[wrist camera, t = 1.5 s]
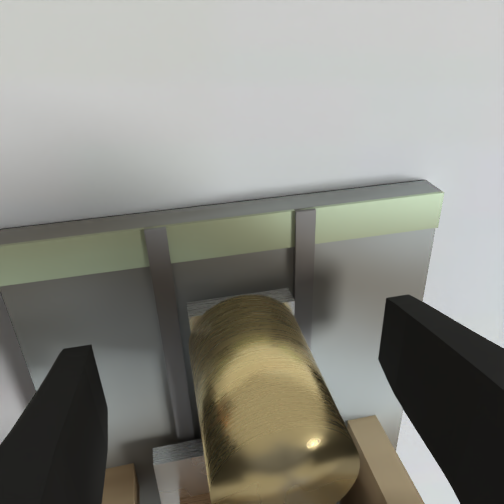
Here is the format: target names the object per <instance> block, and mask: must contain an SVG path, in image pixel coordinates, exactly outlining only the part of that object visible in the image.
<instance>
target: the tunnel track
mask: <svg viewBox="0 0 504 504" xmlns="http://www.w3.org/2000/svg"><path fill="white" fill-rule="evenodd" d="M443 197H444V192H443V191H441V190H440V189H438V188H437V187H435V186H434V185H432V184H431V183H430V182H428V181H427V180H422V181H414V182H405V183H396V184H388V185H379V186H371V187H362V188H353V189H345V190H336V191H328V192H319V193H310V194H302V195H293V196H285V197H276V198H267V199H259V200H250V201H242V202H233V203H224V204H216V205H207V206H199V207H190V208H181V209H173V210H164V211H156V212H147V213H138V214H130V215H121V216H113V217H104V218H95V219H87V220H78V221H70V222H61V223H52V224H44V225H35V226H27V227H18V228H9V229H1V230H0V292H1V294H2V297H3V300H4V303H5V306H6V308H7V311H8V314H9V317H10V320H11V323H12V325H13V328H14V331H15V334H16V337H17V339H18V342H19V345H20V348H21V351H22V353H23V356H24V359H25V362H26V365H27V367H28V370H29V373H30V376H31V379H32V381H33V384H34V387H35V390H36V392H37V390H38V389H39V387H40V385H41V384H42V382H43V380H44V379H45V377H46V376H47V374H48V372H49V370H50V369H51V367H52V365H53V364H54V362H55V360H56V359H57V357H58V355H59V353H60V352H61V351H62V350H63V349H65V348H71V347H78V346H84V345H90V344H91V345H92V349H93V353H94V357H95V361H96V365H97V368H98V372H99V376H100V380H101V384H102V388H103V391H104V395H105V399H106V403H107V407H108V453H107V463H106V471H105V480H104V489H103V497H102V504H161V500H160V495H159V490H158V485H157V481H156V476H155V471H154V466H153V448H156V447H161V446H166V445H171V444H176V443H181V442H187V441H192V440H197V439H202V437H201V430H200V423H199V417H198V410H197V403H196V396H195V389H194V382H193V375H192V368H191V362H190V355H189V338H190V326H189V318H188V310H187V303H188V302H195V301H201V300H208V299H215V298H221V297H228V296H235V295H242V294H248V293H255V292H262V291H269V290H275V289H282V288H288V289H289V291H290V293H291V295H292V297H293V299H294V301H295V310H294V317H295V319H296V321H297V323H298V325H299V327H300V330H301V332H302V334H303V336H304V338H305V340H306V342H307V344H308V347H309V349H310V351H311V353H312V355H313V357H314V359H315V361H316V364H317V366H318V368H319V370H320V372H321V374H322V376H323V378H324V381H325V383H326V385H327V387H328V389H329V391H330V393H331V395H332V398H333V400H334V402H335V404H336V406H337V408H338V410H339V412H340V415H341V417H342V419H343V421H344V423H345V425H346V427H347V429H348V432H349V434H350V436H351V438H352V440H353V442H354V444H355V446H356V449H357V451H358V453H359V457H360V469H359V473H358V476H357V478H356V481H355V482H354V484H353V486H352V487H351V489H350V490H349V491H348V493H347V494H346V495H345V496H344V497H343V498H342V499H341V500H340V501H339V502H337V503H336V504H424V502H423V500H422V498H421V496H420V495H419V493H418V491H417V489H416V487H415V486H414V484H413V482H412V480H411V478H410V477H409V475H408V473H407V471H406V469H405V467H404V466H403V464H402V462H401V460H400V458H399V457H398V455H397V453H396V447H397V441H398V435H399V430H400V424H401V419H402V413H403V408H402V406H401V405H400V403H399V401H398V400H397V398H396V397H395V395H394V393H393V391H392V389H391V387H390V385H389V383H388V380H387V378H386V376H385V374H384V372H383V369H382V367H381V365H380V362H379V360H378V356H379V349H380V341H381V334H382V326H383V318H384V311H385V303H386V298H389V297H395V296H401V295H408V294H409V295H411V296H413V297H415V298H417V299H418V300H420V301H423V295H424V290H425V284H426V279H427V273H428V267H429V262H430V256H431V251H432V245H433V239H434V234H435V228H438V224H439V219H440V213H441V208H442V202H443Z"/></svg>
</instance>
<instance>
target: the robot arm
mask: <svg viewBox="0 0 504 504" xmlns="http://www.w3.org/2000/svg"><path fill="white" fill-rule="evenodd" d="M378 360H379V362H380V365H381V367H382V369H383V372H384V374H385V376H386V378H387V380H388V383H389V385H390V387H391V389H392V391H393V393H394V395H395V397H396V398H397V400H398V401H399V403H400V405H401V406H402V408H403V410H404V411H405V413H406V414H407V416H408V418H409V419H410V421H411V422H412V424H413V426H414V427H415V429H416V430H417V432H418V433H419V435H420V436H421V438H422V440H423V441H424V443H425V444H426V446H427V448H428V449H429V451H430V452H431V454H432V455H433V457H434V459H435V460H436V462H437V463H438V465H439V466H440V468H441V470H442V471H443V473H444V475H445V476H446V478H447V480H448V481H449V483H450V485H451V487H452V488H453V490H454V492H455V494H456V496H457V498H458V500H459V502H460V504H504V348H502V347H500V346H498V345H496V344H495V343H493V342H491V341H489V340H487V339H486V338H484V337H482V336H480V335H479V334H477V333H475V332H473V331H472V330H470V329H468V328H466V327H465V326H463V325H461V324H460V323H458V322H456V321H454V320H453V319H451V318H449V317H448V316H446V315H444V314H443V313H441V312H439V311H438V310H436V309H434V308H432V307H431V306H429V305H427V304H426V303H424V302H422V301H420V300H418V299H417V298H415V297H413V296H411V295H409V294H408V295H401V296H395V297H389V298H386V303H385V311H384V318H383V326H382V334H381V341H380V349H379V356H378ZM107 453H108V407H107V403H106V399H105V395H104V391H103V388H102V384H101V380H100V376H99V372H98V368H97V365H96V361H95V357H94V353H93V349H92V345H91V344H90V345H84V346H78V347H71V348H65V349H63V350H62V351H61V352H60V353H59V355H58V357H57V359H56V360H55V362H54V364H53V365H52V367H51V369H50V370H49V372H48V374H47V376H46V377H45V379H44V380H43V382H42V384H41V385H40V387H39V389H38V390H37V392H36V393H35V395H34V397H33V398H32V400H31V401H30V403H29V404H28V406H27V407H26V409H25V410H24V412H23V413H22V415H21V416H20V418H19V419H18V421H17V422H16V424H15V425H14V427H13V428H12V430H11V431H10V432H9V434H8V435H7V436H6V438H5V439H4V440H3V442H2V443H1V445H0V504H102V497H103V489H104V480H105V471H106V463H107Z"/></svg>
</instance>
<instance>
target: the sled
mask: <svg viewBox="0 0 504 504" xmlns="http://www.w3.org/2000/svg"><path fill="white" fill-rule="evenodd" d="M187 310H188V318H189V326H190V338H189V355H190V362H191V368H192V375H193V382H194V389H195V396H196V403H197V410H198V417H199V423H200V430H201V437H202V439H197V440H192V441H187V442H181V443H176V444H171V445H166V446H161V447H156V448H153V466H154V471H155V476H156V481H157V485H158V490H159V495H160V500H161V504H336V503H337V502H339V501H340V500H341V499H342V498H343V497H344V496H345V495H346V494H347V493H348V491H349V490H350V489H351V487H352V486H353V484H354V482H355V481H356V478H357V476H358V473H359V469H360V457H359V453H358V451H357V449H356V446H355V444H354V442H353V440H352V438H351V436H350V434H349V432H348V429H347V427H346V425H345V423H344V421H343V419H342V417H341V415H340V412H339V410H338V408H337V406H336V404H335V402H334V400H333V398H332V395H331V393H330V391H329V389H328V387H327V385H326V383H325V381H324V378H323V376H322V374H321V372H320V370H319V368H318V366H317V364H316V361H315V359H314V357H313V355H312V353H311V351H310V349H309V347H308V344H307V342H306V340H305V338H304V336H303V334H302V332H301V330H300V327H299V325H298V323H297V321H296V319H295V317H294V310H295V301H294V299H293V297H292V295H291V293H290V291H289V289H288V288H282V289H275V290H269V291H262V292H255V293H248V294H242V295H235V296H228V297H221V298H215V299H208V300H201V301H195V302H188V303H187Z"/></svg>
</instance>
